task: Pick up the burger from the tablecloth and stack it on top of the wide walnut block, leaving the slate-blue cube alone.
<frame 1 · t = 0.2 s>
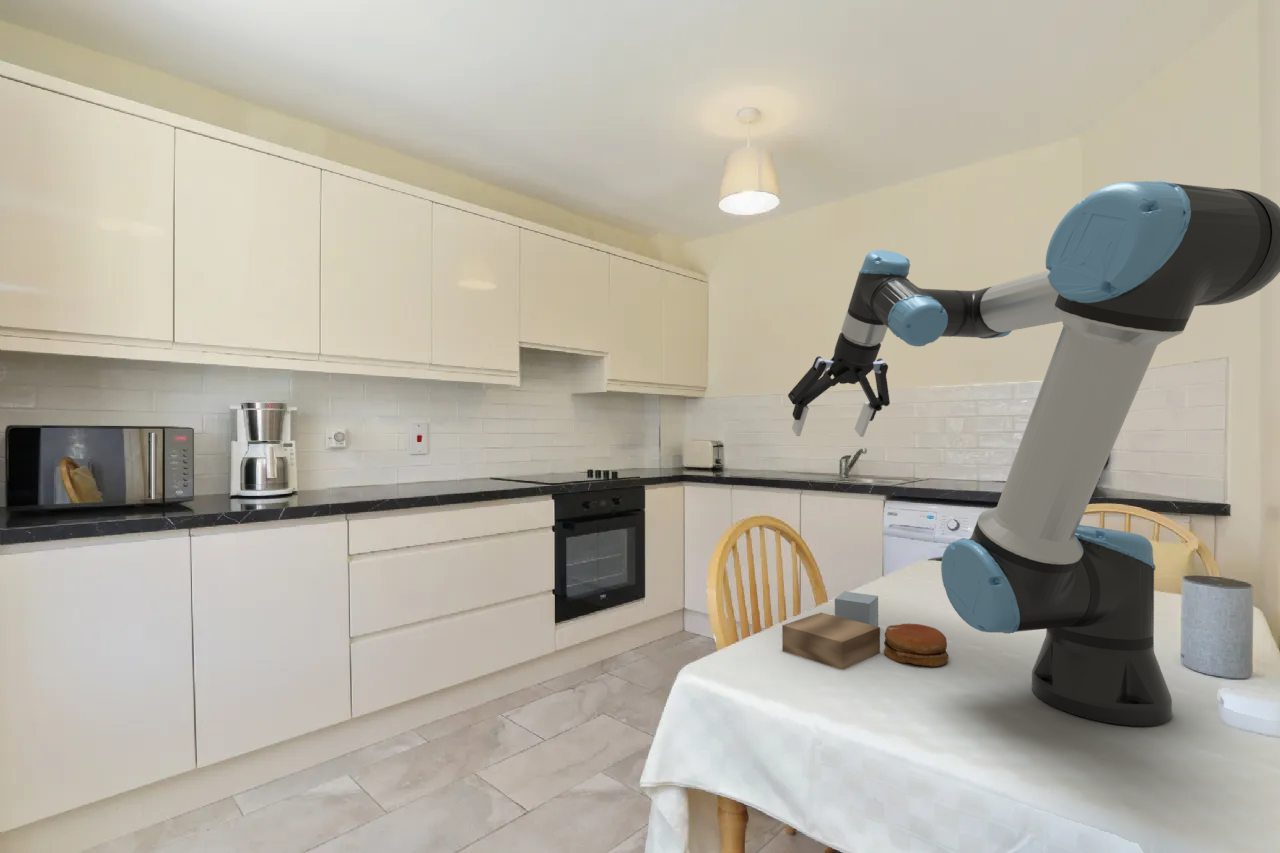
hand: (827, 432, 129), 35 cm above the table, tool tilted 35°, fingers open, 13 cm apart
walnut block: (830, 653, 105), on the table
slate cube: (856, 630, 116), on the table
burger: (914, 658, 102), on the table
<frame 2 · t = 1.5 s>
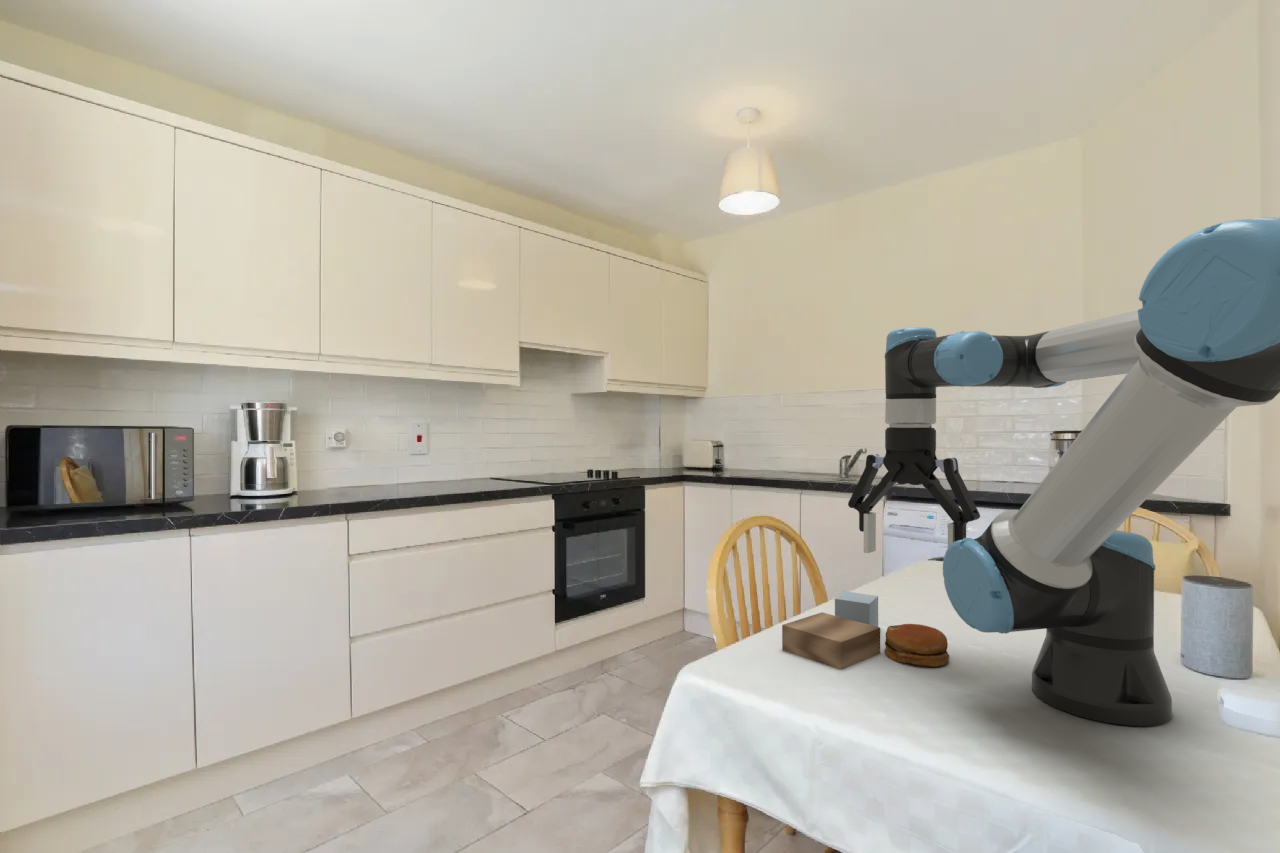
hand: (909, 558, 103), 15 cm above the table, tool pointing down, fingers open, 13 cm apart
nothing on the table moved.
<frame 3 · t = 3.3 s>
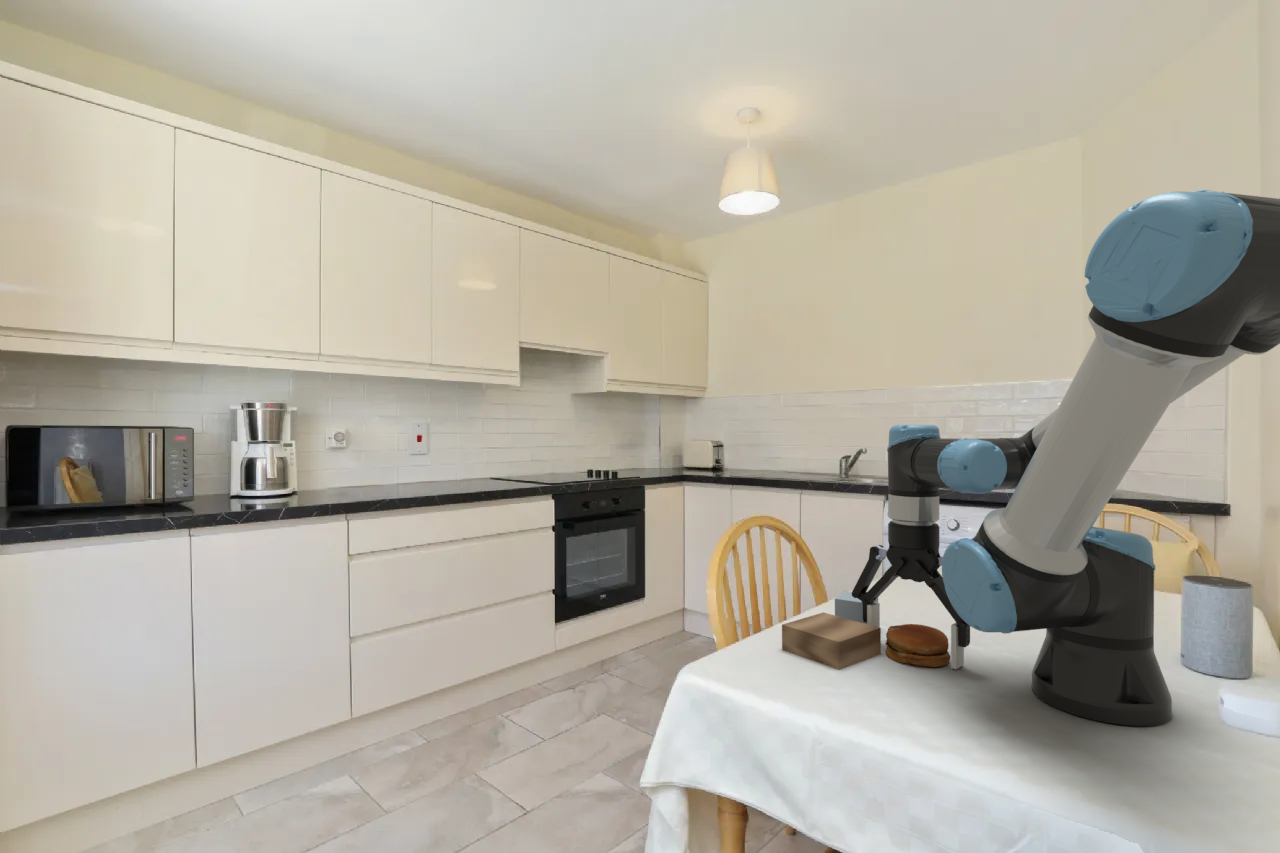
hand: (913, 654, 103), 0 cm above the table, tool pointing down, fingers open, 13 cm apart
nothing on the table moved.
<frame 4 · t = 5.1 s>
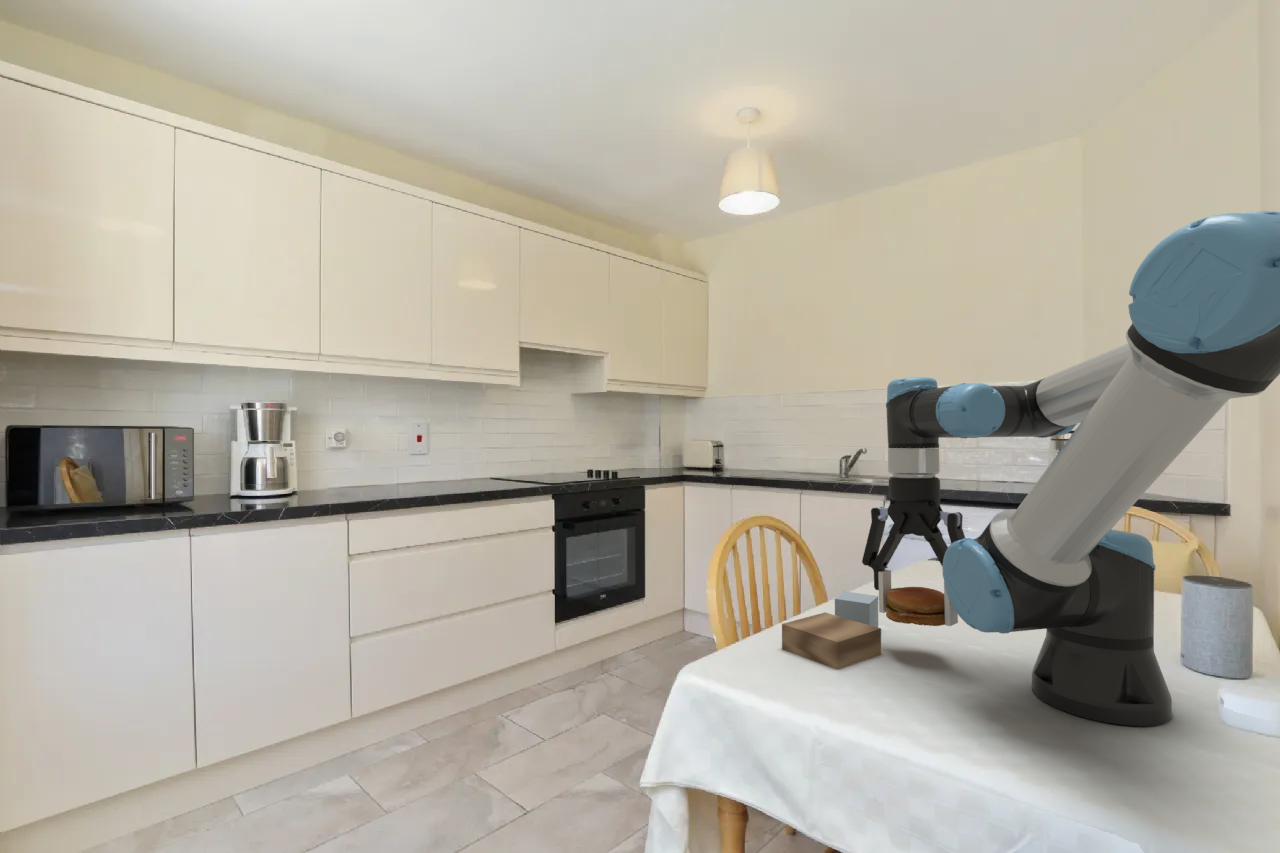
hand: (917, 617, 102), 6 cm above the table, tool pointing down, fingers closed on burger, 10 cm apart
burger: (917, 620, 102), point 6 cm above the table, touching gripper
everything else where it was.
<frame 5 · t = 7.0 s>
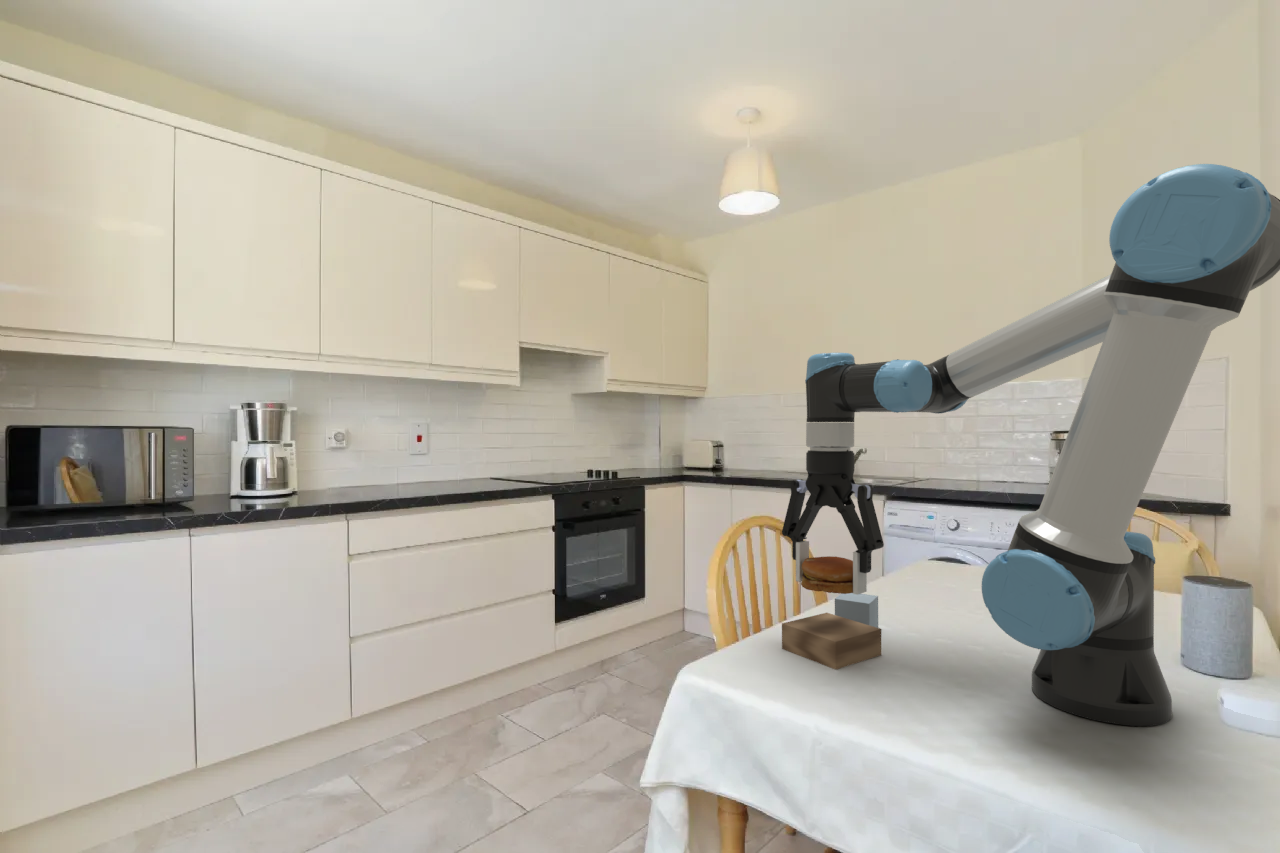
hand: (830, 586, 105), 11 cm above the table, tool pointing down, fingers closed on burger, 10 cm apart
burger: (829, 588, 105), point 10 cm above the table, touching gripper
everything else where it was.
when the fingers open (5 cm above the table, at t = 8.9 s): burger stays where it is, resting on walnut block.
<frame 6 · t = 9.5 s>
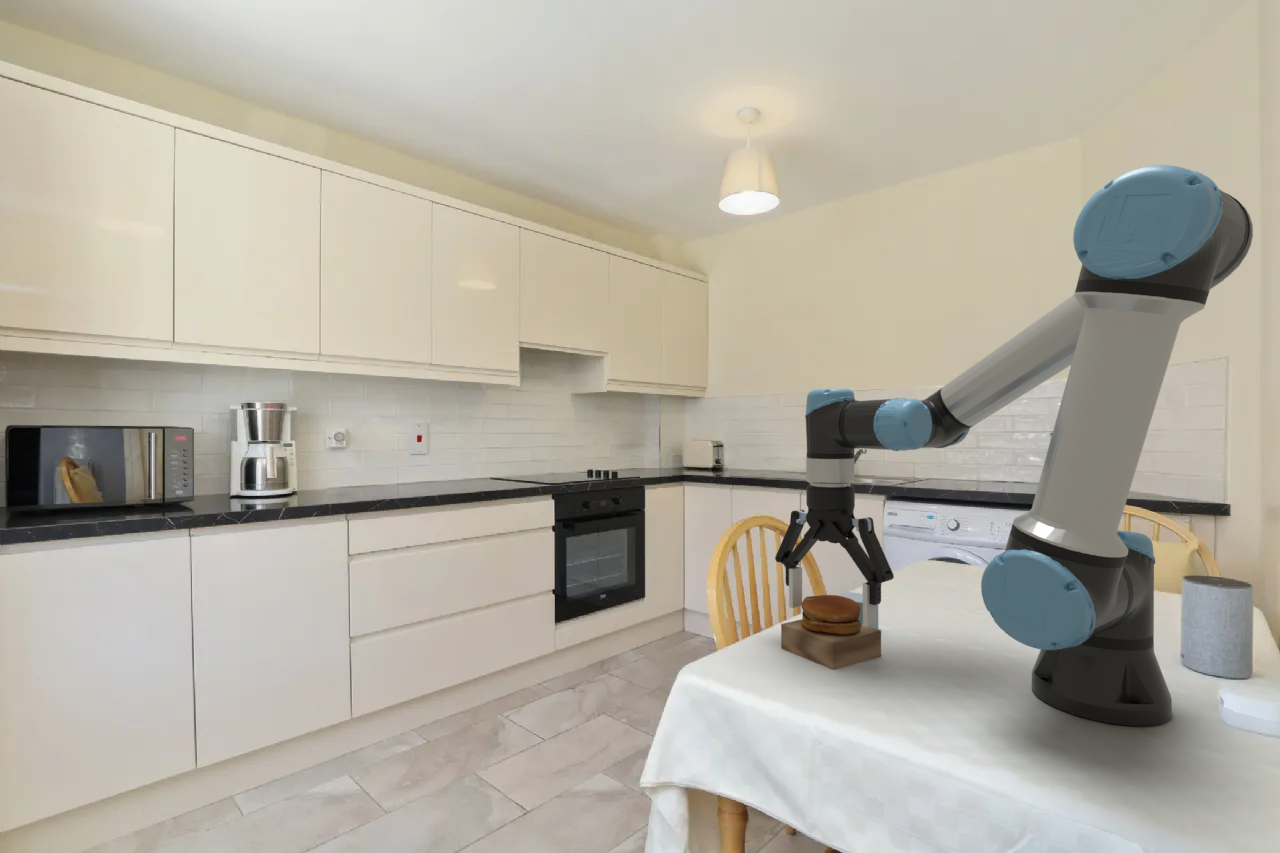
hand: (830, 615, 105), 6 cm above the table, tool pointing down, fingers open, 13 cm apart
walnut block: (830, 654, 105), on the table, touching burger
burger: (830, 628, 105), point 4 cm above the table, touching walnut block
everything else where it was.
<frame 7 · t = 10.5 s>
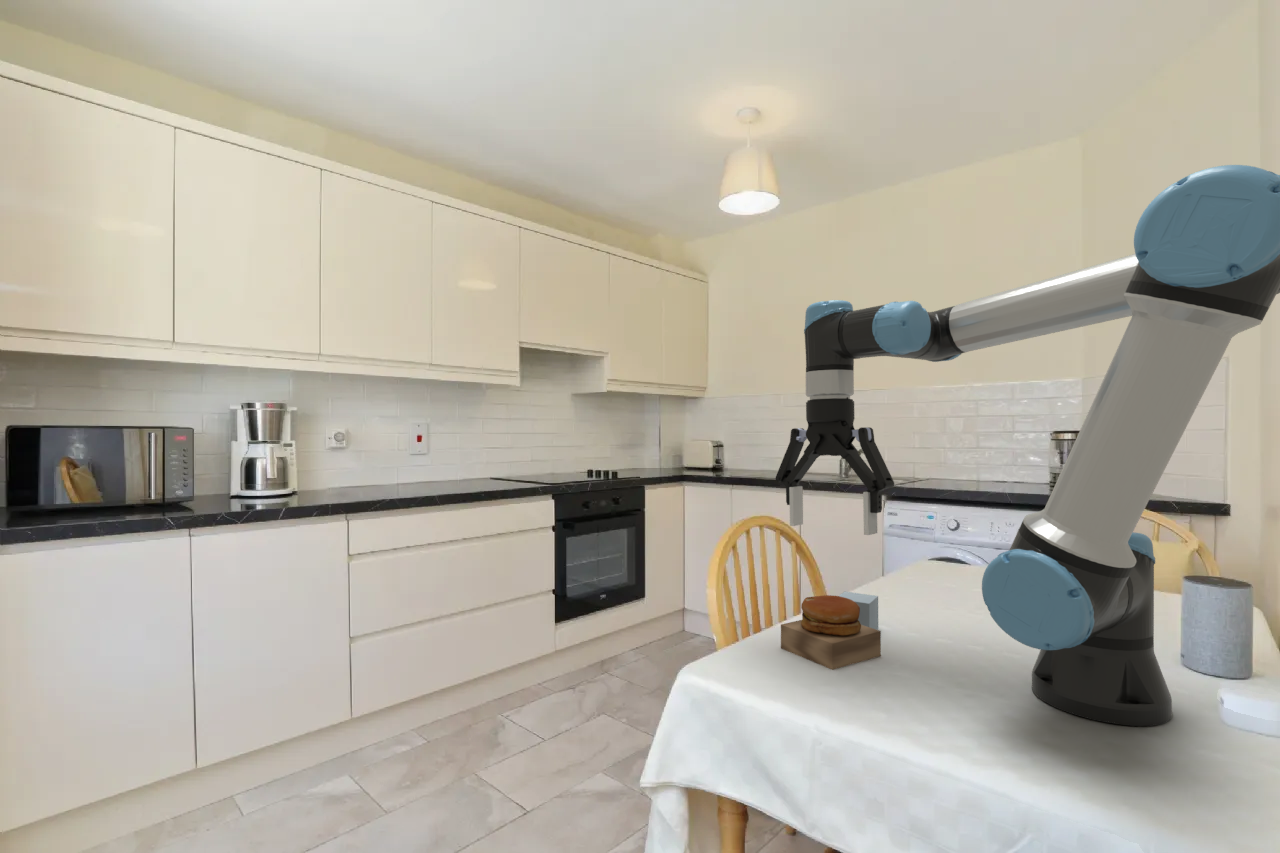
hand: (831, 529, 104), 20 cm above the table, tool pointing down, fingers open, 13 cm apart
nothing on the table moved.
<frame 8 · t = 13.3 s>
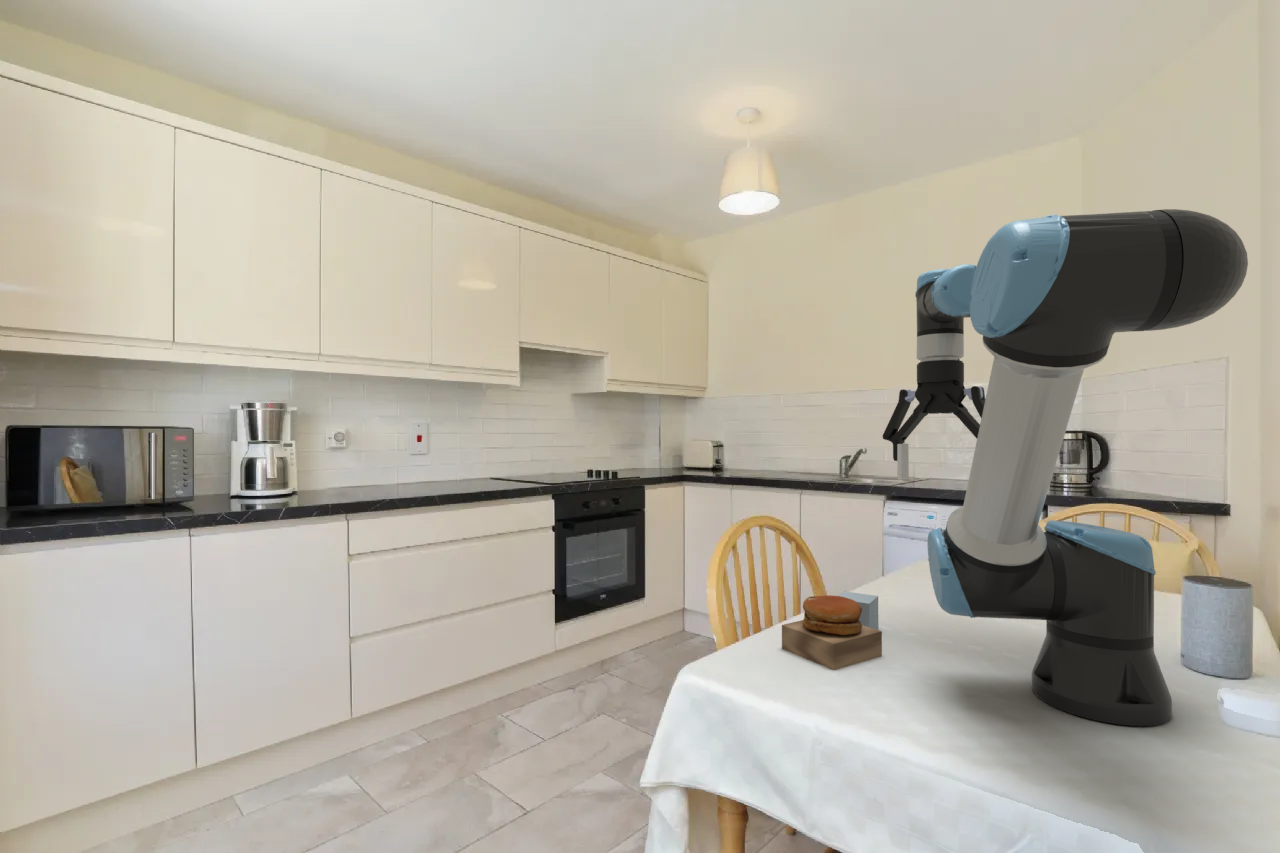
hand: (940, 481, 113), 27 cm above the table, tool pointing down, fingers open, 13 cm apart
walnut block: (831, 655, 104), on the table
burger: (831, 628, 104), point 4 cm above the table
everything else where it was.
at the end: burger 0.1 cm from the walnut block (horizontally); burger point 3.8 cm above the table; burger tilted 1° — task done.
